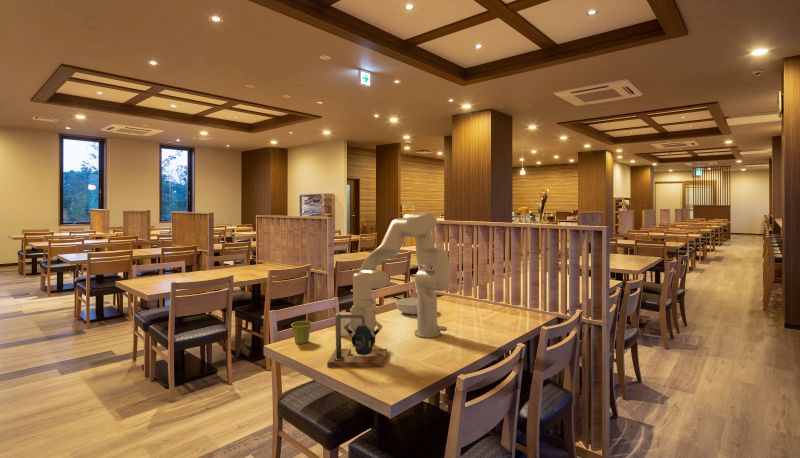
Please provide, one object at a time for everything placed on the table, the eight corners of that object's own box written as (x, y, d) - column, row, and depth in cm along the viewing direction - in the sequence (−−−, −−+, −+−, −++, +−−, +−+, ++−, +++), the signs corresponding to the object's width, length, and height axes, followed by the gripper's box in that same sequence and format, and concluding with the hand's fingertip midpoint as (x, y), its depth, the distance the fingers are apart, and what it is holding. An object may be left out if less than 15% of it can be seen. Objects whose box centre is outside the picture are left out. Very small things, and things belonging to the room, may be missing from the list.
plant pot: (316, 340, 204) (315, 321, 203) (305, 346, 195) (304, 327, 194) (298, 338, 207) (298, 320, 206) (287, 344, 198) (287, 325, 197)
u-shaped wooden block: (387, 353, 183) (387, 348, 183) (383, 367, 167) (383, 362, 167) (335, 353, 185) (335, 348, 185) (327, 367, 169) (327, 362, 169)
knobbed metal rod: (366, 357, 173) (365, 313, 172) (364, 361, 169) (363, 315, 168) (335, 357, 173) (333, 313, 173) (332, 361, 169) (331, 315, 169)
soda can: (352, 354, 178) (351, 325, 178) (362, 349, 184) (361, 321, 183) (365, 356, 175) (365, 327, 174) (375, 351, 181) (374, 323, 180)
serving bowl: (432, 317, 243) (432, 304, 243) (395, 317, 243) (395, 305, 243) (430, 308, 264) (430, 297, 263) (396, 308, 264) (395, 297, 264)
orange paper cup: (348, 336, 208) (348, 316, 208) (333, 336, 210) (332, 315, 209) (353, 332, 216) (353, 312, 215) (338, 331, 217) (338, 311, 217)
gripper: (384, 300, 182) (385, 342, 182) (343, 300, 183) (344, 342, 184) (382, 304, 174) (383, 348, 175) (339, 304, 175) (341, 348, 176)
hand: (363, 345), depth 179 cm, fingers closed on soda can, 6 cm apart
